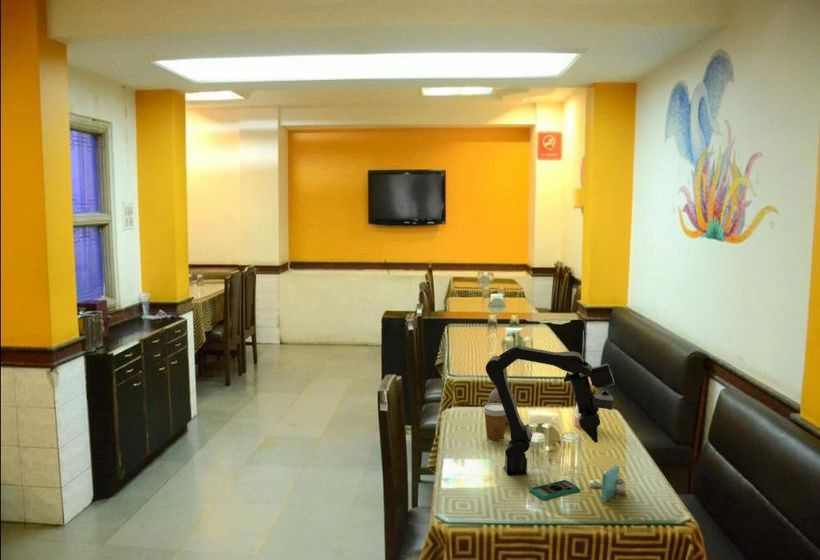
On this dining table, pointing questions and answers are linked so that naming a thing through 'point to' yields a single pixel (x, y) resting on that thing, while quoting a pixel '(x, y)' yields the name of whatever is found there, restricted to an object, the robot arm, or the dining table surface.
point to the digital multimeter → (554, 489)
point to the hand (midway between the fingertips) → (595, 436)
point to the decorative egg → (497, 398)
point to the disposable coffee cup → (495, 421)
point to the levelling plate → (594, 483)
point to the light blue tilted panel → (612, 484)
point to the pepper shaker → (580, 413)
